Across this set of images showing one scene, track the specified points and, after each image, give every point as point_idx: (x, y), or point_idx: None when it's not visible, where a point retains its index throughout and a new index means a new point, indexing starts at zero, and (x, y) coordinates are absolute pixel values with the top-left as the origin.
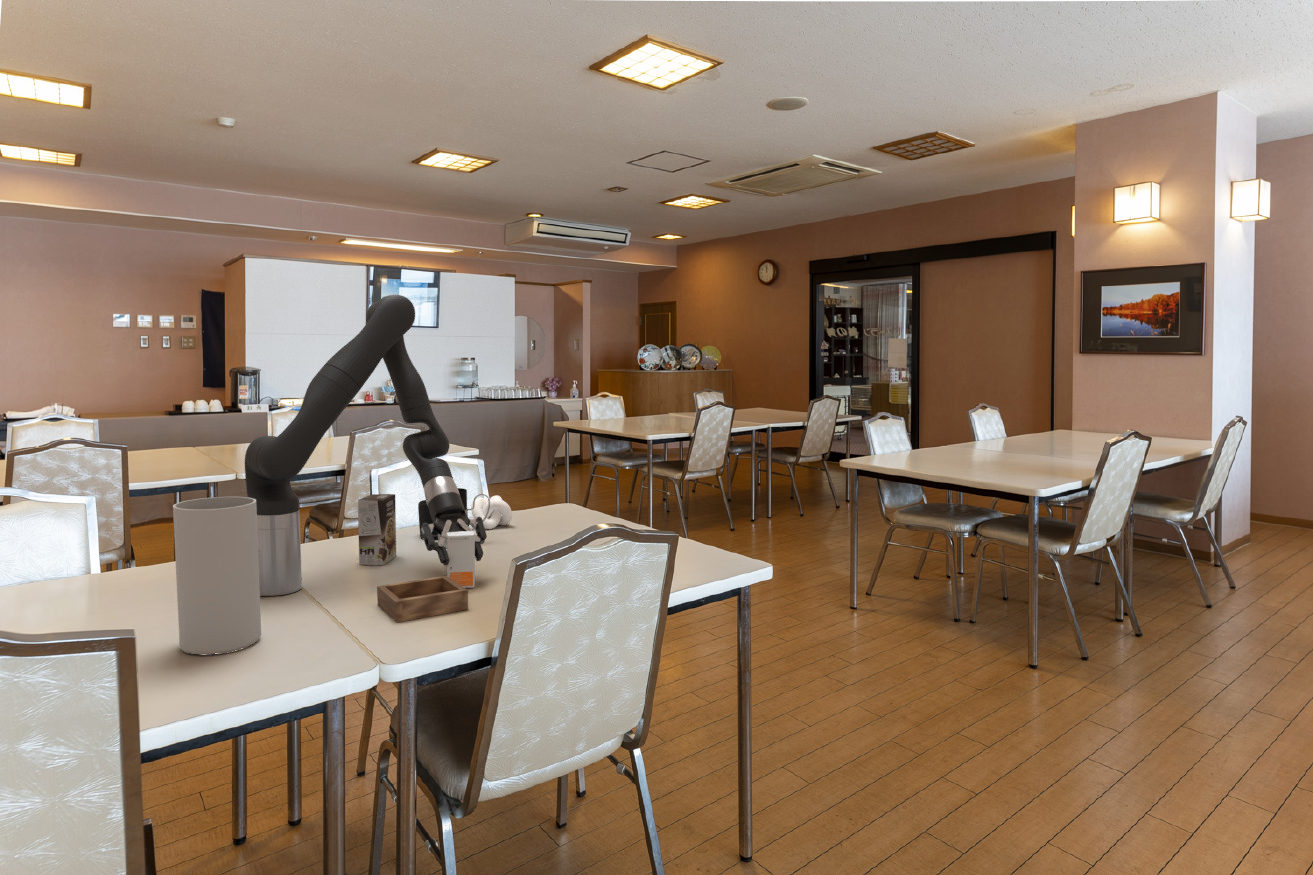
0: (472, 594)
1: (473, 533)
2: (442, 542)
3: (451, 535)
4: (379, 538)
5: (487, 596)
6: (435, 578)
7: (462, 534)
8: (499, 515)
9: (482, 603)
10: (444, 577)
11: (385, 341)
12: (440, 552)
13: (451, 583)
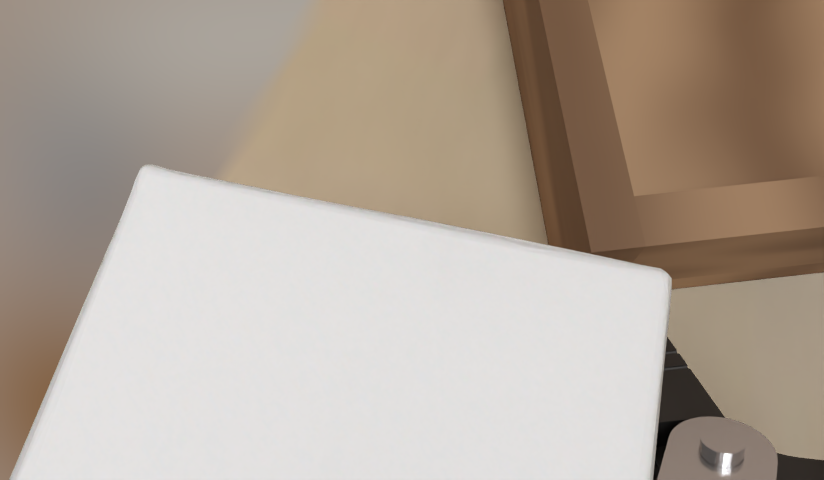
0: (377, 210)
1: (105, 286)
2: (699, 470)
3: (582, 285)
4: None
5: (296, 124)
6: (699, 203)
7: (348, 271)
8: None
9: (377, 5)
10: (614, 203)
11: None
12: (693, 390)
13: (586, 11)
